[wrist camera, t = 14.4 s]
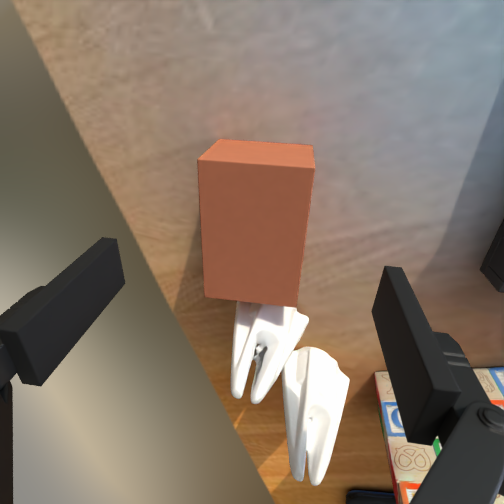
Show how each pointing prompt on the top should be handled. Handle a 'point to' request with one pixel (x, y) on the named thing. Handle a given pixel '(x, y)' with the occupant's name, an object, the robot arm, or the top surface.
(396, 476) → the stack of blocks
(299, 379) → the shaker set
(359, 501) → the game console
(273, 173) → the terracotta rectangular block
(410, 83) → the top surface
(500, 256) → the backing tray
